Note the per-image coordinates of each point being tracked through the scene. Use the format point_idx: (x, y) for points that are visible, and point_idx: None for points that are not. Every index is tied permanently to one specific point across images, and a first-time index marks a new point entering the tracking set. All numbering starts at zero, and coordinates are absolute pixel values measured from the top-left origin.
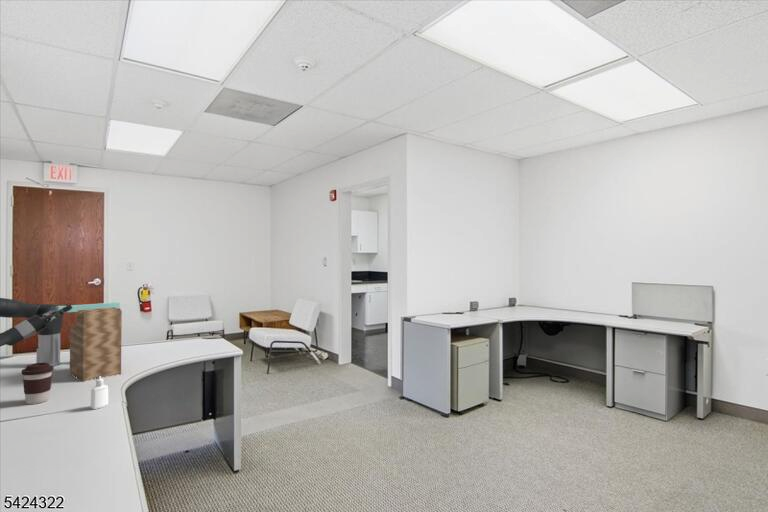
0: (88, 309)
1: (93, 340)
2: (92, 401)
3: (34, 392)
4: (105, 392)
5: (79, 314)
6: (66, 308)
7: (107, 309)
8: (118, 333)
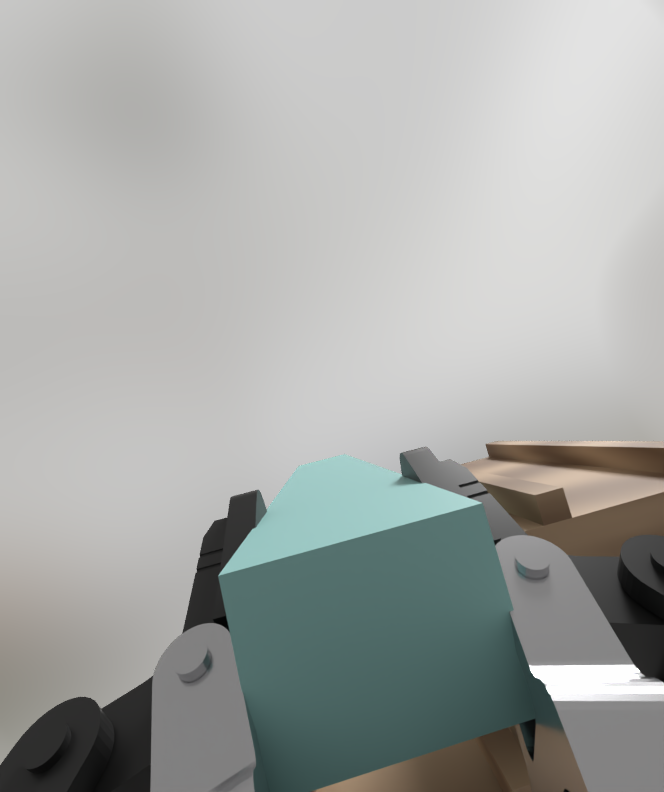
0: (481, 479)
1: None
2: None
3: None
4: None
5: (625, 530)
6: (492, 510)
7: (544, 441)
8: None
